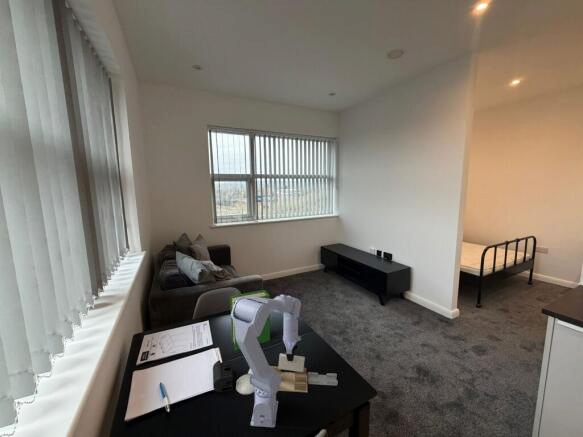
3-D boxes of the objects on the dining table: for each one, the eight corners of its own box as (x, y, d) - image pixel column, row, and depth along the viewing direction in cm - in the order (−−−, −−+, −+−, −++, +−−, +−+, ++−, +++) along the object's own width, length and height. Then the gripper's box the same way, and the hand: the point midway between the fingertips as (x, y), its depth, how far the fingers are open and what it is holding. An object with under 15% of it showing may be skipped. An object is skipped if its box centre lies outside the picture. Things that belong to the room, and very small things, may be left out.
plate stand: (337, 386, 95) (337, 382, 95) (307, 385, 96) (308, 381, 95) (336, 376, 100) (336, 372, 100) (307, 375, 101) (307, 371, 100)
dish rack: (307, 393, 92) (307, 385, 91) (265, 391, 93) (265, 382, 92) (307, 375, 101) (307, 367, 100) (269, 373, 102) (269, 365, 101)
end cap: (213, 376, 100) (212, 361, 99) (230, 372, 102) (230, 357, 101) (213, 396, 91) (213, 379, 90) (233, 391, 93) (232, 375, 92)
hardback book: (235, 350, 116) (233, 302, 113) (231, 341, 122) (230, 296, 119) (269, 340, 123) (269, 295, 120) (264, 332, 130) (264, 289, 127)
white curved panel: (303, 372, 97) (304, 359, 96) (278, 368, 97) (279, 356, 97) (303, 369, 98) (304, 356, 98) (278, 365, 99) (279, 353, 98)
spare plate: (256, 395, 91) (256, 393, 91) (232, 394, 92) (232, 391, 91) (261, 377, 100) (261, 374, 100) (239, 376, 101) (239, 373, 100)
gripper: (300, 338, 88) (299, 372, 90) (301, 317, 103) (301, 347, 104) (280, 337, 89) (280, 371, 90) (284, 316, 103) (284, 346, 105)
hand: (290, 358), depth 97 cm, fingers closed on white curved panel, 2 cm apart
